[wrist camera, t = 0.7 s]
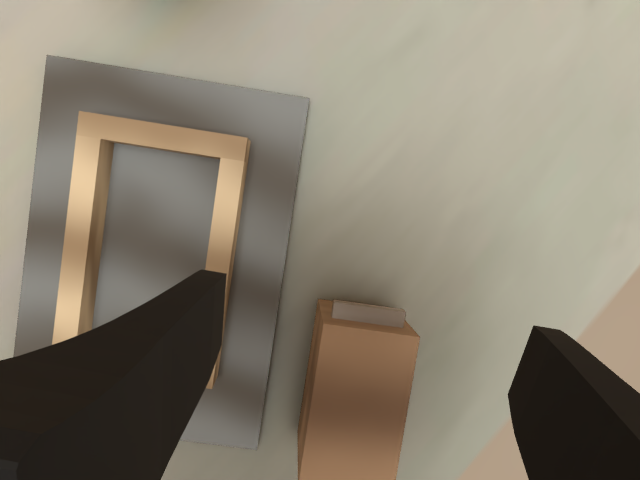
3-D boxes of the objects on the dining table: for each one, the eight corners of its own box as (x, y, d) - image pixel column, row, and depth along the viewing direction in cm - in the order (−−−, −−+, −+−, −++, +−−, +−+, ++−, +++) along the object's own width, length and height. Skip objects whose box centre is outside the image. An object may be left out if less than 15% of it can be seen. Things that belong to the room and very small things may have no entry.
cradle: (258, 443, 31) (254, 468, 28) (14, 412, 30) (-15, 435, 27) (309, 100, 29) (310, 90, 26) (53, 58, 28) (27, 44, 26)
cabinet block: (373, 440, 31) (392, 498, 25) (297, 430, 31) (298, 486, 25) (397, 296, 31) (422, 320, 25) (320, 284, 30) (326, 306, 24)
